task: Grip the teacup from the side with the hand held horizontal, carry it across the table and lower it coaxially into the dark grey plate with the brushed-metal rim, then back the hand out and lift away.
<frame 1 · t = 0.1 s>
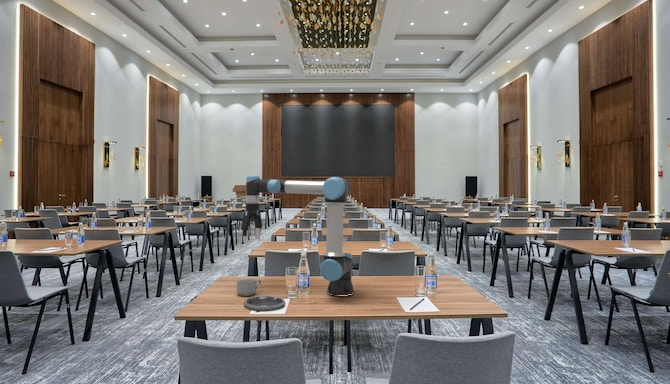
hand: (251, 240, 234), 28 cm above the table, tool pointing down, fingers open, 13 cm apart
dark grey plate: (264, 305, 205), on the table
teacup: (249, 294, 225), on the table
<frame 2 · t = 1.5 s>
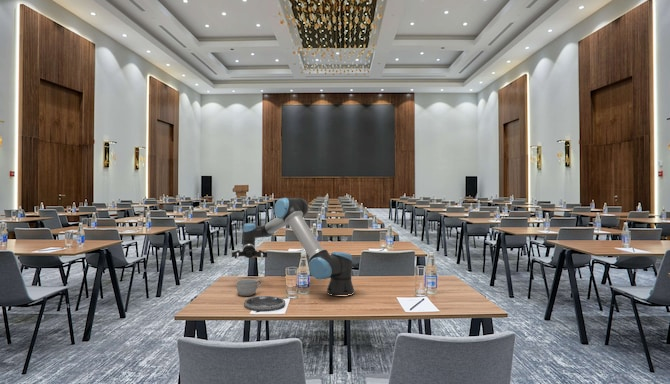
hand: (249, 257, 234), 19 cm above the table, tool horizontal, fingers open, 13 cm apart
nothing on the table moved.
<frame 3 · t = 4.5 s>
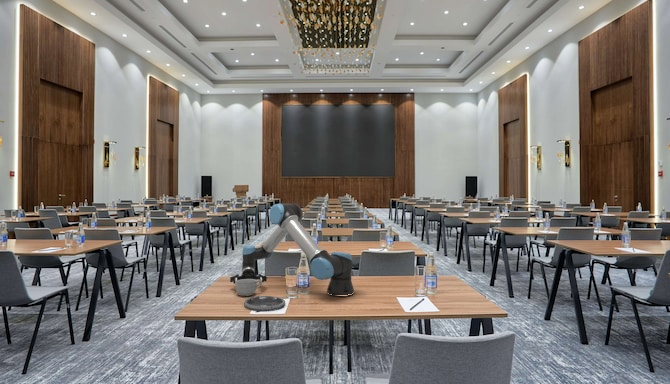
hand: (248, 282, 227), 6 cm above the table, tool horizontal, fingers open, 13 cm apart
teacup: (248, 295, 224), on the table, touching gripper
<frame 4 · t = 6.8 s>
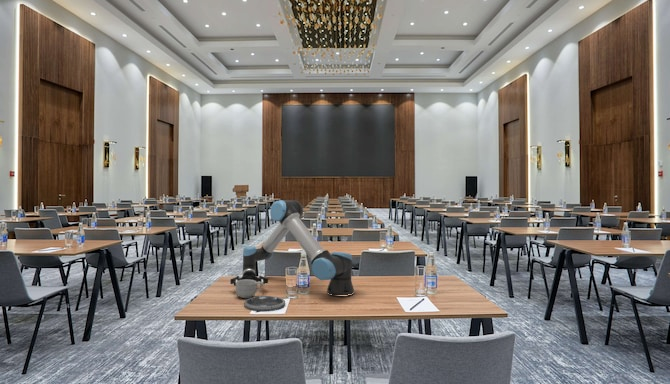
hand: (249, 284, 222), 6 cm above the table, tool horizontal, fingers closed on teacup, 13 cm apart
teacup: (248, 296, 220), on the table, touching gripper
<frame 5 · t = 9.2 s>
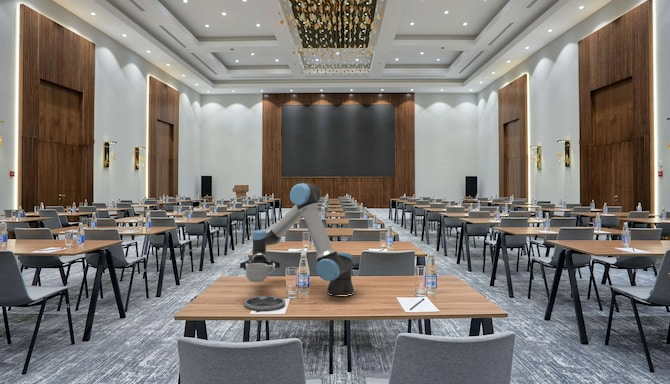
hand: (260, 268, 208), 18 cm above the table, tool horizontal, fingers closed on teacup, 13 cm apart
teacup: (259, 280, 206), point 12 cm above the table, touching gripper
when the fingers open (8 cm above the table, at t = 13.2 s): teacup stays where it is, resting on dark grey plate.
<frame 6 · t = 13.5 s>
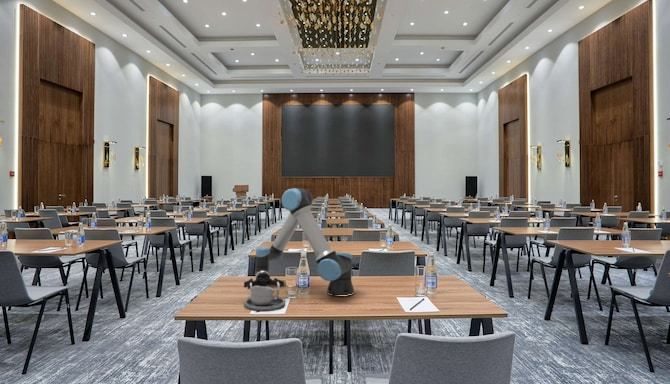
hand: (265, 288, 205), 9 cm above the table, tool horizontal, fingers open, 13 cm apart
teacup: (263, 304, 203), point 1 cm above the table, touching gripper, dark grey plate
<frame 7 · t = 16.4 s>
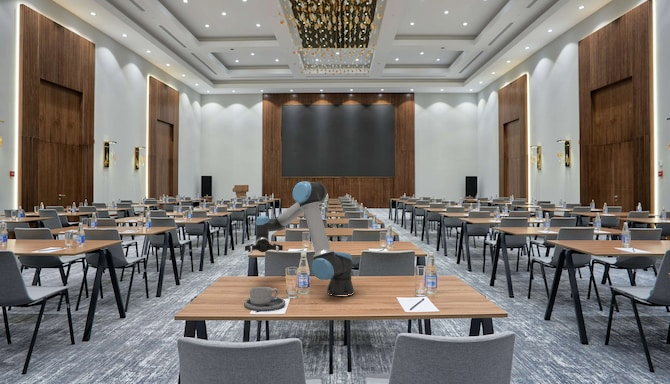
hand: (264, 250, 217), 25 cm above the table, tool horizontal, fingers open, 13 cm apart
teacup: (263, 305, 203), point 1 cm above the table, touching dark grey plate
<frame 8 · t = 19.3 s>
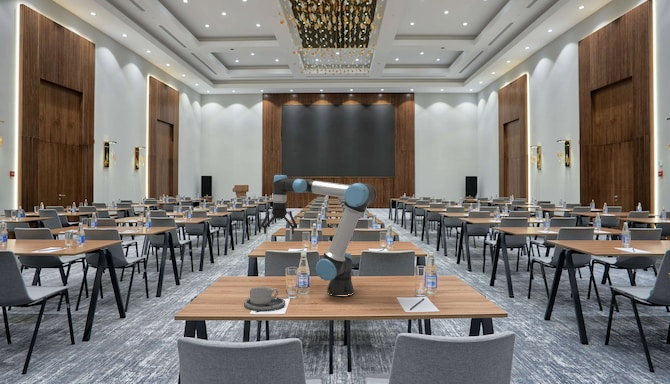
hand: (278, 239, 235), 29 cm above the table, tool pointing down, fingers open, 13 cm apart
nothing on the table moved.
at the end: teacup 2.5 cm from the dark grey plate (horizontally); teacup tilted 0°; the gripper is holding nothing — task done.
